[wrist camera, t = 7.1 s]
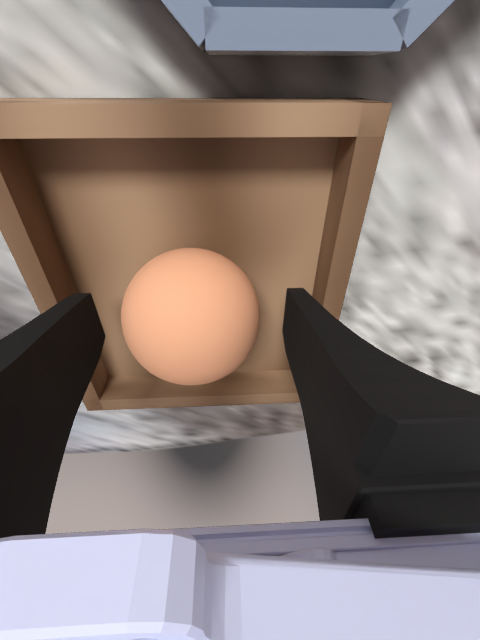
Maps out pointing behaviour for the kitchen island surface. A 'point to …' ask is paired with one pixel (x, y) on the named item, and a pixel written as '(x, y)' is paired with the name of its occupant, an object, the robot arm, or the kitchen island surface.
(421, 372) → the robot arm
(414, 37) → the bowl
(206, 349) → the ball
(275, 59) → the kitchen island surface
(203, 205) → the tray
